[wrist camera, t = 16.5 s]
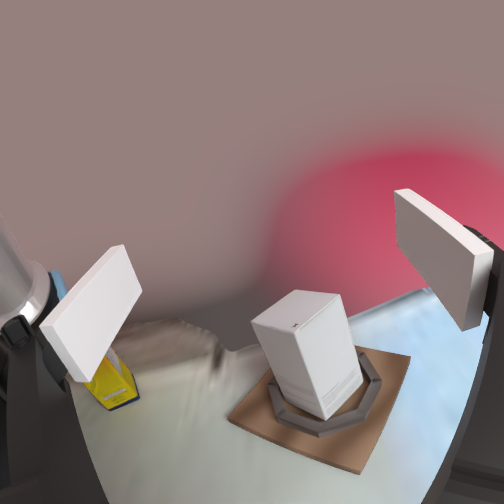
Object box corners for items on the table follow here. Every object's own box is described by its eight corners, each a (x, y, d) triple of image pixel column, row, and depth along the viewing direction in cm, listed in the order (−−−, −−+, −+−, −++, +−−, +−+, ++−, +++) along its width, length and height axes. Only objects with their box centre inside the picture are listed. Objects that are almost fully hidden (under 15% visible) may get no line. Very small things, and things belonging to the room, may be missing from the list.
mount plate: (229, 422, 36) (223, 410, 35) (299, 338, 48) (297, 325, 47) (359, 475, 25) (361, 465, 24) (409, 362, 37) (411, 348, 36)
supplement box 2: (365, 381, 34) (342, 293, 31) (325, 423, 30) (292, 334, 27) (322, 367, 40) (295, 287, 37) (283, 401, 36) (247, 320, 33)
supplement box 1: (105, 388, 45) (68, 344, 40) (133, 374, 47) (99, 328, 42) (110, 413, 40) (68, 369, 35) (140, 398, 42) (102, 352, 37)
